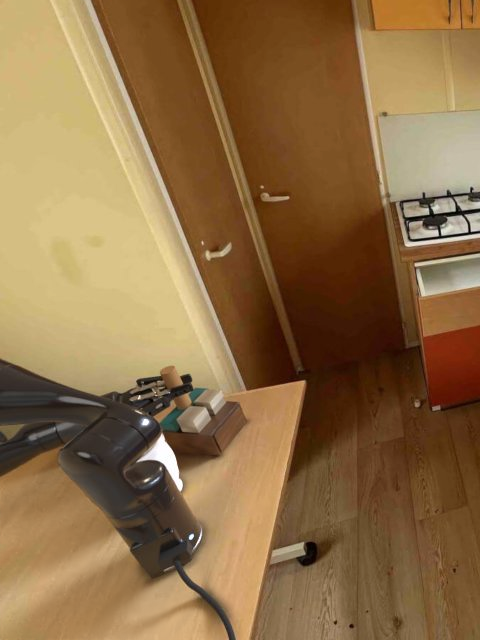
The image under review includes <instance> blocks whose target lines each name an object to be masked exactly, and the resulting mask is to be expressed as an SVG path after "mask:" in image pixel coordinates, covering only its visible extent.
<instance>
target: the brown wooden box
mask: <svg viewBox="0 0 480 640" xmlns="http://www.w3.org/2000/svg"><path fill="white" fill-rule="evenodd" d="M209 415H210V414H209ZM210 417H211V420H210V421H209V422H208V423H207V425H206V426H205V427H204V428H203V429H202V430H201V431H200V432H199V433H192V432H183V431H182V429H181V430H180V431H179V432H178V433H167V432H164V431H163V430H162V433H163V435H164V441H165V442H166V443H167V444H168V445H169V447H170V448H171V449H172V451H173V453H179V454H180V453H181V454H193V455H203V456H216V457H220V456H221V455H222V454H223V453H224V451H225V450H226V449H227V448H228V447H229V445H230V444H231V443H232V441H233V440H234V439H235V437H237V435H238V434H239V432H240V431H241V430H242V429H243V427H244V426H245V425H246V424H247V422H248V420H247V418H246V416H245V413H244V411H243V409H242V405H241V403H240V401H233V400H231V401H229V400H226V403H225V404H224V405H223V407H222V408H221V409H220V410H219V411H218V412H217V413H216V414H215V415H210Z"/></svg>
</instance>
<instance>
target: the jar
mask: <svg viewBox="0 0 480 640" xmlns="http://www.w3.org/2000/svg"><path fill="white" fill-rule="evenodd" d="M143 460H157V461H160V462H162V463H163V464H164V465H165V466H166V468H167V470H168V471H169V473H170V475H171V477H172V478H173V480H174V482H175V484H176V485H177V487H178V489H179V491H180V492H181V493H182V490H183V488H184V487H183V484H184V483H183V481H182V479H181V478H180V471H179V467H178V462H177V458H176V455H175V452H173V451H172V449H171V448H170V447H169V445H168V443H167V442H166V440H165V438H164V435H163V433H162V434H161V436H160V438H159V439H158V440H157V442H156V443H155V444H154V445H153V446H152V447H151V448H150V449H149V450H148V451H147V452H146V453H145V454H144V455H143V456H142V457H141V458H140V459H139V460H138V461H137V462H139V461H143Z"/></svg>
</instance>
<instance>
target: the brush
mask: <svg viewBox="0 0 480 640" xmlns="http://www.w3.org/2000/svg"><path fill="white" fill-rule="evenodd" d="M159 375H160V376H162V378H163V380H164V382H165V384H166V386H167V388H168V390H170V391H171V388H174V387H177V386H180V385H182V384H183V382H182V380H181V378H180V376H181V375H180V374H179V372H178V369H177V368H176V366H175V365H168V366H165V367H162V369H160V370H159ZM206 389H207V390H210V388H207V387H206V388H205V387H195V388H193V391H191V392H189V393H187V394H184V395H181V396H179V397H176V398H174V400H173V403H174V404H175V407H174V408H173V409H172V410H171V411H170V412H169V413H168V414H167V415H166V416H165V417H163V418H162V420H160V422H159V423H160V425H161V427H162V430H163V431H164V432H167V433H178V432H179V431H180V430H181V428H180V426H179V424H178V422H177V420H176V419H177V418H178V417H179V416H180V415H181V414H182V413H183V412H184V411H185V410H186V409H187V408H188V407H189V406H196V405H195V403H194V401H195V400H196V399H197V398H198V397H199V396H200V395H201V394H202V393H203V392H204V391H205V390H206Z"/></svg>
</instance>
